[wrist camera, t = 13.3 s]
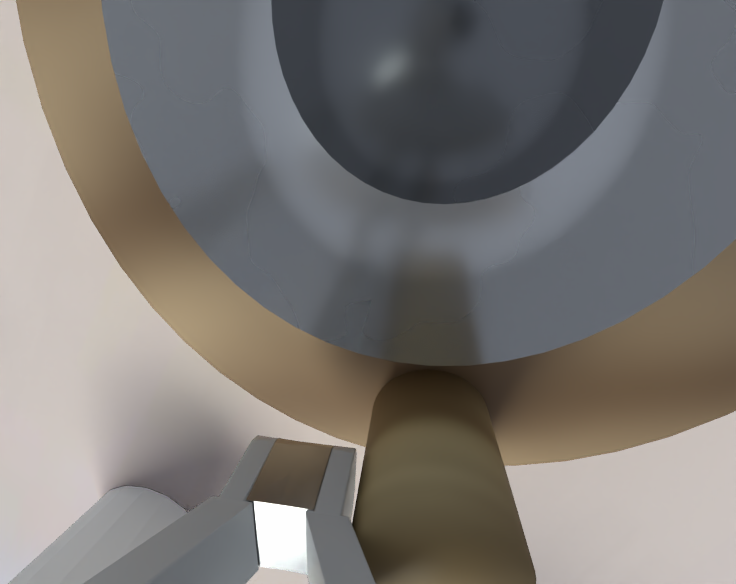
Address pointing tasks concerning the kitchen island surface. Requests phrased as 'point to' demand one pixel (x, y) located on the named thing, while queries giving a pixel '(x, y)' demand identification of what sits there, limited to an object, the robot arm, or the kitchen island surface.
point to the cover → (440, 159)
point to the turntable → (382, 377)
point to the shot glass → (102, 536)
